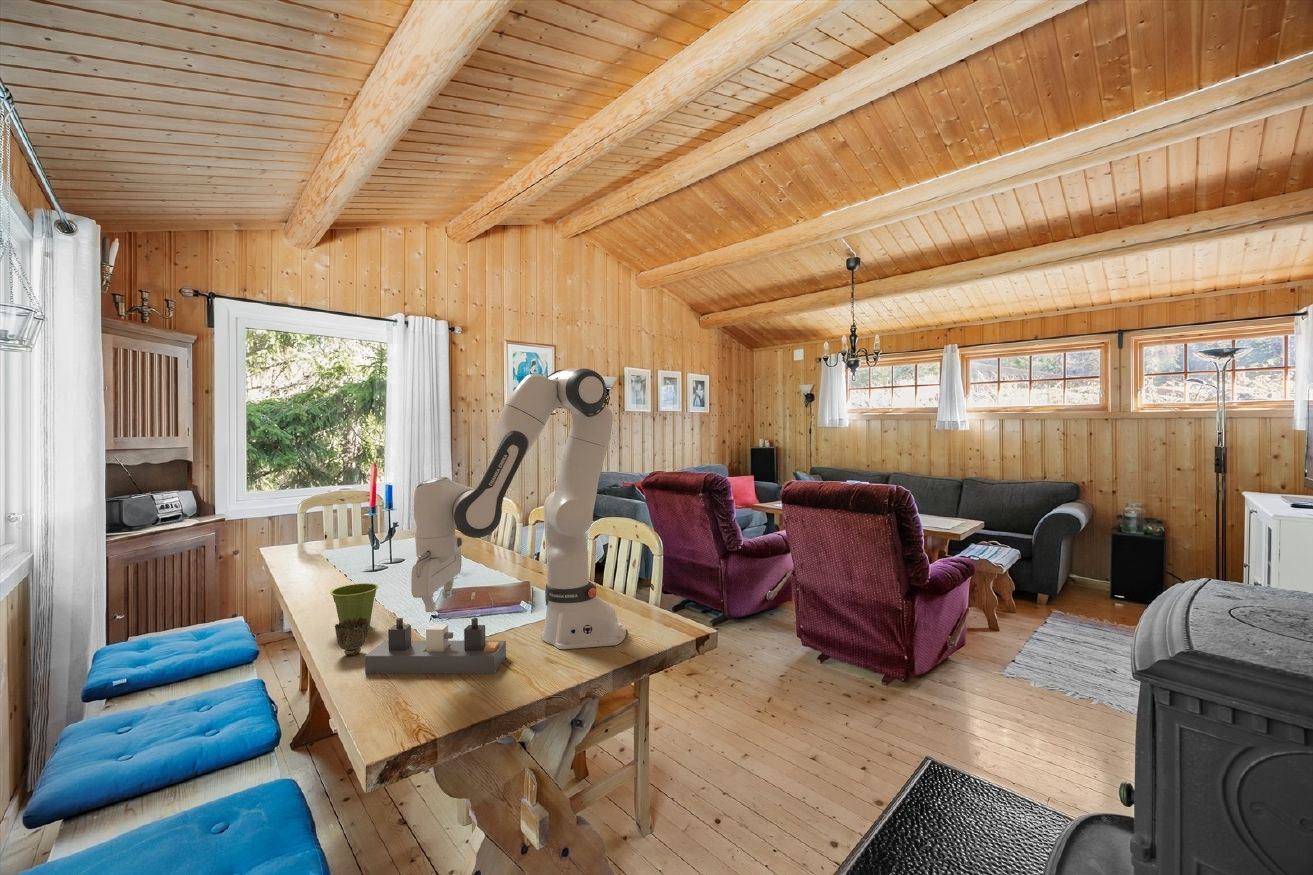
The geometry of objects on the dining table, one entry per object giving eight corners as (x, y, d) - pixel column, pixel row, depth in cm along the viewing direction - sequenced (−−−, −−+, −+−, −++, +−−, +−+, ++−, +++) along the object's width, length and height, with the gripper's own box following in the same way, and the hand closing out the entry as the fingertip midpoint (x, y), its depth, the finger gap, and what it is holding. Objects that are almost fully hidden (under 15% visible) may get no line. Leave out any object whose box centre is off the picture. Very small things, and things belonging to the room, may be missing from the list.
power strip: (506, 656, 136) (505, 612, 135) (494, 673, 127) (493, 625, 126) (385, 656, 136) (384, 612, 136) (365, 673, 127) (364, 625, 127)
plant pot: (388, 624, 158) (387, 585, 158) (350, 639, 147) (349, 597, 147) (360, 618, 163) (359, 580, 163) (321, 632, 152) (320, 592, 152)
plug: (455, 657, 133) (454, 624, 133) (450, 663, 130) (449, 629, 130) (432, 657, 133) (431, 624, 133) (426, 663, 130) (426, 629, 130)
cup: (331, 654, 138) (331, 622, 138) (363, 645, 143) (363, 614, 143) (340, 663, 133) (339, 630, 133) (373, 653, 138) (372, 622, 138)
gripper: (430, 557, 120) (433, 619, 121) (465, 536, 141) (467, 590, 141) (401, 558, 121) (405, 620, 121) (440, 537, 141) (443, 591, 142)
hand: (439, 604), depth 131 cm, fingers open, 8 cm apart
